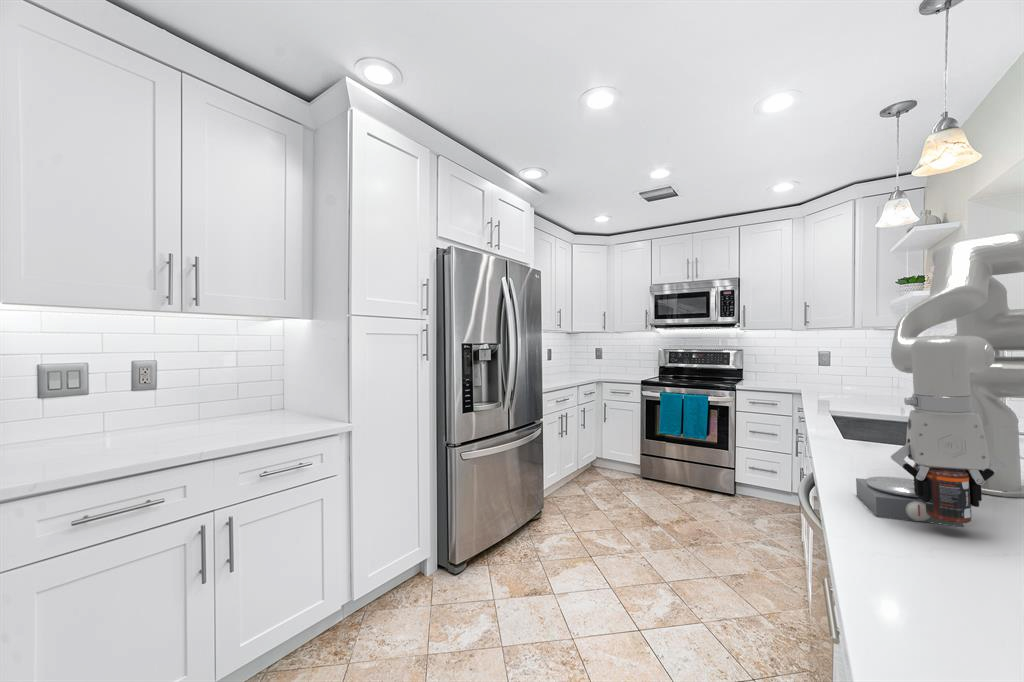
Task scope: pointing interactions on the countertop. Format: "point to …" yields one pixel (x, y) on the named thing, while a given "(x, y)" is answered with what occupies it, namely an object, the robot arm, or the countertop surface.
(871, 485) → the scale pan
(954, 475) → the supplement bottle
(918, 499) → the scale base
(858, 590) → the countertop surface
